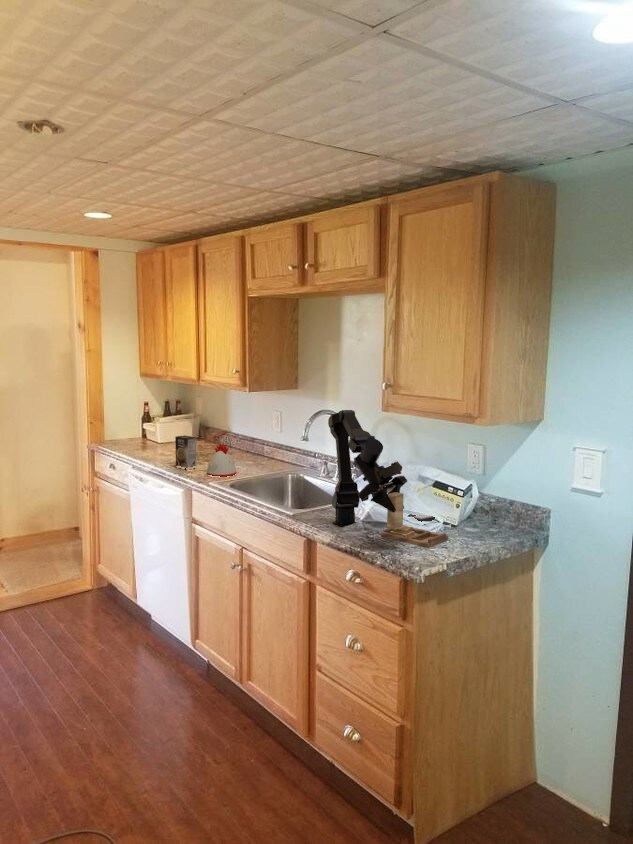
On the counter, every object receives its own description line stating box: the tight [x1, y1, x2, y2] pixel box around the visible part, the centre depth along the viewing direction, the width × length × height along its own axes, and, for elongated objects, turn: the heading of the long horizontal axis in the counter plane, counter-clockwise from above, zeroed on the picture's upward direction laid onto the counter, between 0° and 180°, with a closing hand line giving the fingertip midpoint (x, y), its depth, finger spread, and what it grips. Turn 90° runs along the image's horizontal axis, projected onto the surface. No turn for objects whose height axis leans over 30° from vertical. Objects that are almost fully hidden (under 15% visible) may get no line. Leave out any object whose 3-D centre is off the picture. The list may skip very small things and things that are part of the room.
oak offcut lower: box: [390, 531, 415, 538], centre depth 213 cm, size 6×6×1 cm
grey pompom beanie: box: [206, 443, 237, 477], centre depth 311 cm, size 14×14×15 cm
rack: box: [380, 524, 449, 549], centre depth 210 cm, size 18×12×3 cm, turn 48°
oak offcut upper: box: [392, 525, 412, 534], centre depth 213 cm, size 5×4×1 cm
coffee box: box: [174, 434, 197, 468], centre depth 326 cm, size 9×6×16 cm
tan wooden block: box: [386, 492, 405, 529], centre depth 199 cm, size 3×4×10 cm
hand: (398, 510), depth 198 cm, fingers closed on tan wooden block, 4 cm apart
